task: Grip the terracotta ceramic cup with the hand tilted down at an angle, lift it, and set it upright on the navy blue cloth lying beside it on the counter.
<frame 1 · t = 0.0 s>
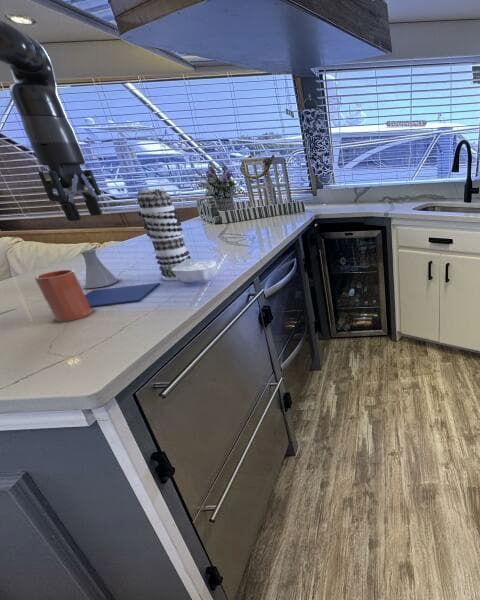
hand: (86, 217, 76), 20 cm above the worktop, tool pointing down, fingers open, 8 cm apart
cup: (74, 315, 73), on the worktop
decorative candle: (179, 276, 98), on the worktop
white rounded container: (200, 282, 92), on the worktop
flask: (102, 285, 93), on the worktop
cloth: (115, 296, 84), on the worktop
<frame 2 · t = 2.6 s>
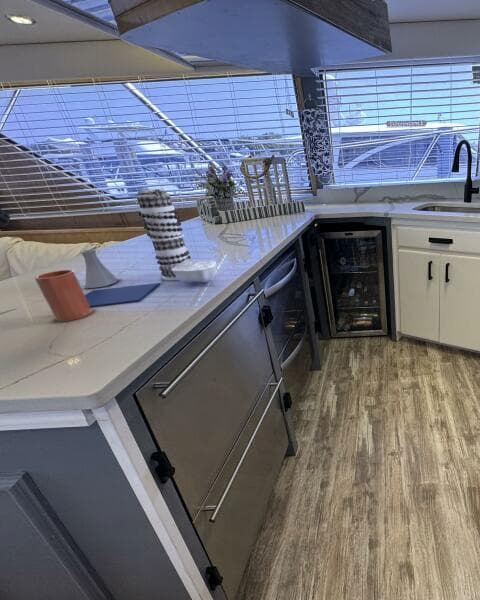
nothing on the worktop moved.
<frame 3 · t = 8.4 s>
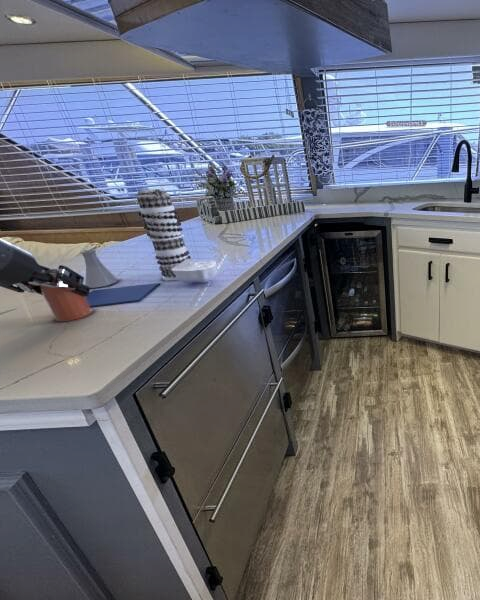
hand: (71, 293, 73), 5 cm above the worktop, tool tilted 45°, fingers closed on cup, 6 cm apart
cup: (74, 315, 73), on the worktop, touching gripper
everything else where it was.
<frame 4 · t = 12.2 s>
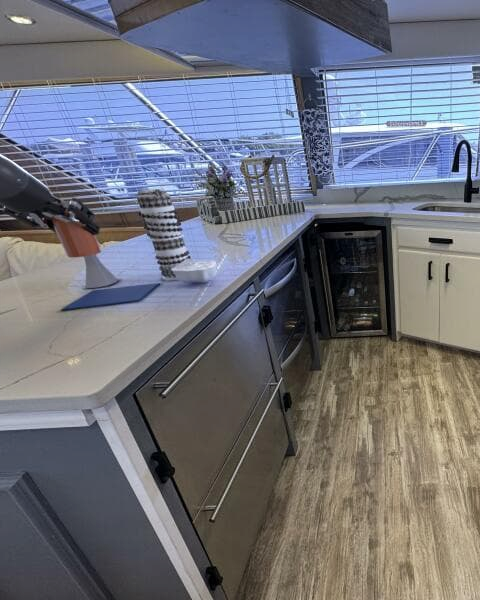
hand: (82, 232, 76), 17 cm above the worktop, tool tilted 45°, fingers closed on cup, 6 cm apart
cup: (85, 254, 76), point 12 cm above the worktop, touching gripper
everything else where it was.
when the fingers open (5 cm above the worktop, at t = 16.3 s): cup stays where it is, resting on cloth.
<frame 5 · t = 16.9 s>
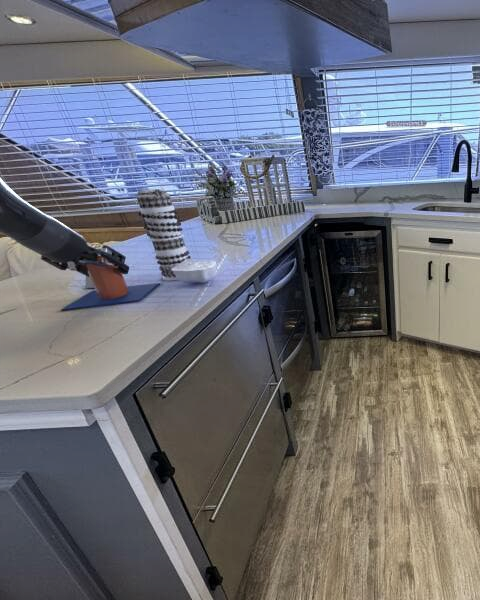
hand: (109, 272, 82), 6 cm above the worktop, tool tilted 45°, fingers open, 8 cm apart
cup: (114, 294, 83), resting on cloth
everything else where it was.
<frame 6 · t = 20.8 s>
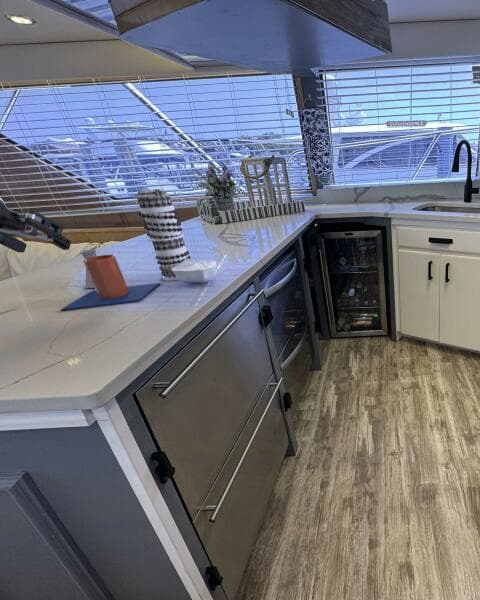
hand: (46, 247, 67), 16 cm above the worktop, tool tilted 45°, fingers open, 8 cm apart
nothing on the worktop moved.
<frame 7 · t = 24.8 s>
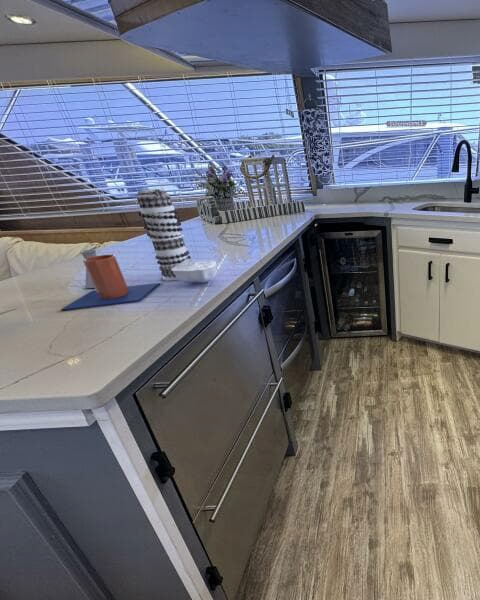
nothing on the worktop moved.
at the end: cup inside the target area on the cloth (0.1 cm from its centre), point 0.4 cm above the cloth's base; cup tilted 0°; the gripper is holding nothing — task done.
